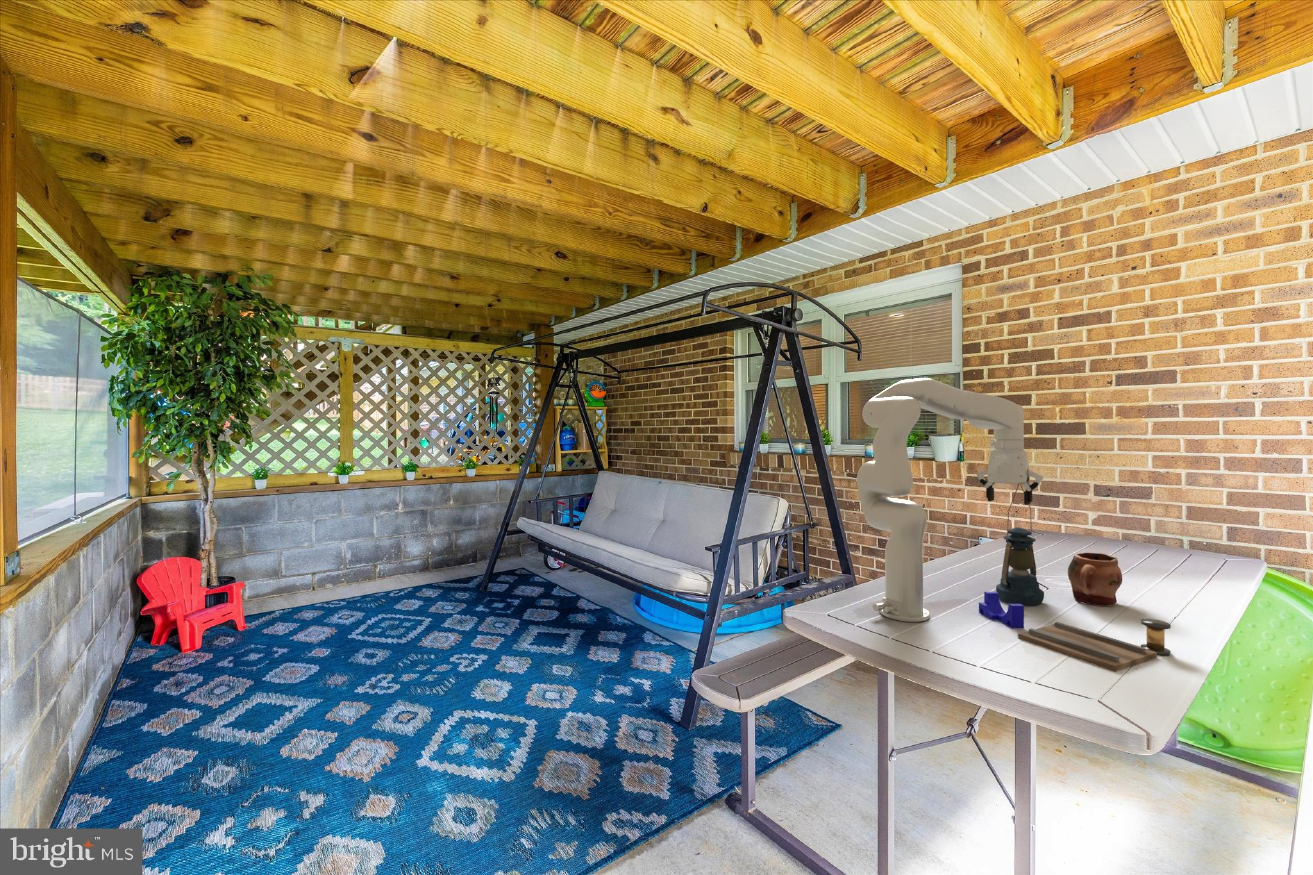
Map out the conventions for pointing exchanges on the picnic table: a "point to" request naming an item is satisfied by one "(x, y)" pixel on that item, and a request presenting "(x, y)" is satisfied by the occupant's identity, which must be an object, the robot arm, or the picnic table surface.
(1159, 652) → the copper spool
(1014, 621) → the blue cradle block
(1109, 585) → the decorative planter
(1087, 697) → the picnic table surface
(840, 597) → the picnic table surface
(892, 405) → the robot arm
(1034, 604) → the lantern
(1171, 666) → the picnic table surface
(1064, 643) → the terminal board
